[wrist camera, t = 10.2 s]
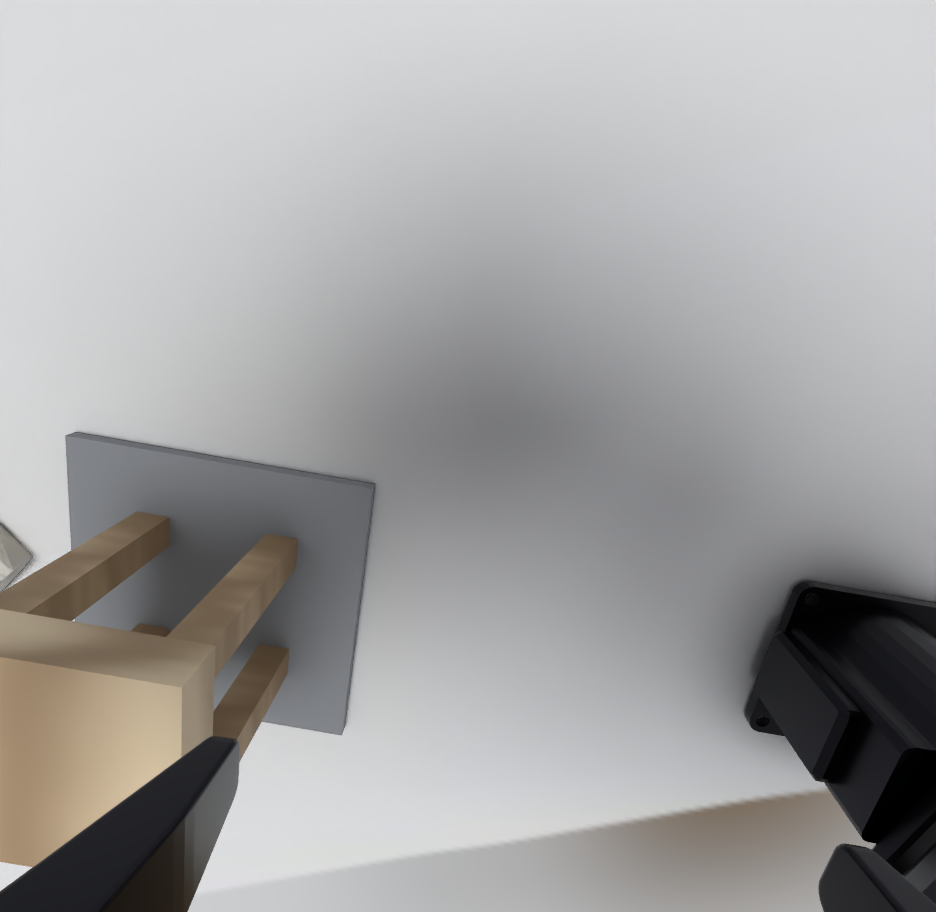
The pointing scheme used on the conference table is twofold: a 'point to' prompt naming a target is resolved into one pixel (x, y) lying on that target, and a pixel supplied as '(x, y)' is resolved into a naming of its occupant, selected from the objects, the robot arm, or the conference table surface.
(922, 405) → the conference table surface
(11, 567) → the packaged product
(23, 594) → the stool
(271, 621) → the mat
